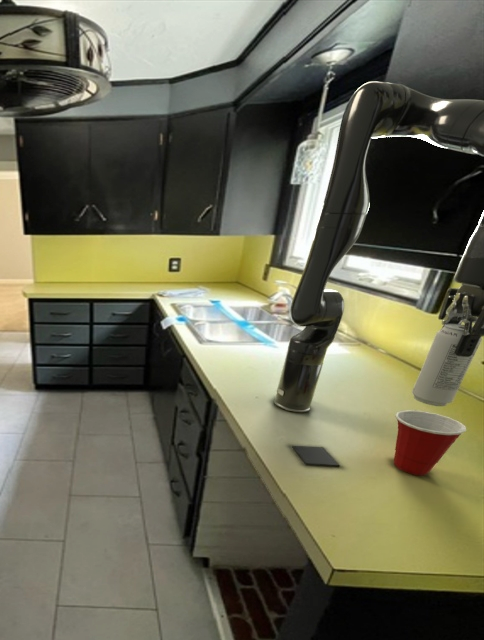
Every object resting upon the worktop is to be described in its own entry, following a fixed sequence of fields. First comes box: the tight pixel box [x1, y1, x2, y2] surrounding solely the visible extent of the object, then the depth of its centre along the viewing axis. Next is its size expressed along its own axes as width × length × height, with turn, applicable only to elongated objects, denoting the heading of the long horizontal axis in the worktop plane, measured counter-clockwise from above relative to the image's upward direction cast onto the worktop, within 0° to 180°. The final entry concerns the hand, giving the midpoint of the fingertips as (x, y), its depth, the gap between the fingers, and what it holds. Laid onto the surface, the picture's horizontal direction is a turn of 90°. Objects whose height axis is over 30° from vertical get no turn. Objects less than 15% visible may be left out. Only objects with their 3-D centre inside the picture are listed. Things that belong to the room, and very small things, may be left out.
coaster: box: [292, 445, 340, 467], centre depth 83 cm, size 7×7×1 cm
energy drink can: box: [411, 324, 483, 407], centre depth 69 cm, size 6×6×15 cm
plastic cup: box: [393, 409, 467, 476], centre depth 77 cm, size 11×11×12 cm
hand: (452, 349), depth 68 cm, fingers closed on energy drink can, 6 cm apart
